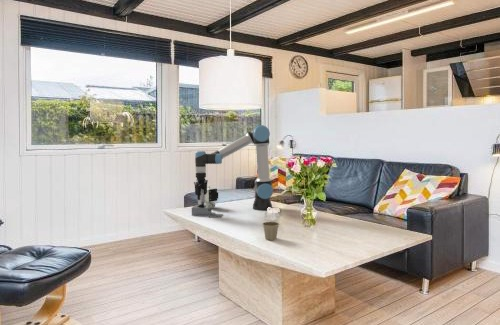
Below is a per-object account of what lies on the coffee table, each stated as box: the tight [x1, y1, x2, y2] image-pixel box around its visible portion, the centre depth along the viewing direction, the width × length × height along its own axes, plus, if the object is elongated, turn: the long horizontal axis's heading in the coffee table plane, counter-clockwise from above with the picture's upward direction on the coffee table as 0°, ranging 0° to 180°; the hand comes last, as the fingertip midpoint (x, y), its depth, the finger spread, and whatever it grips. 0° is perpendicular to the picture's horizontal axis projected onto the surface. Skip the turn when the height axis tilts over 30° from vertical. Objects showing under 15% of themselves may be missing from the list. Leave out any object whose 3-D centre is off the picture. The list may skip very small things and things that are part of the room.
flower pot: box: [262, 221, 280, 241], centre depth 203 cm, size 9×9×9 cm
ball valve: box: [204, 185, 219, 210], centre depth 289 cm, size 18×8×18 cm, turn 37°
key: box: [198, 186, 208, 207], centre depth 268 cm, size 4×10×17 cm, turn 59°
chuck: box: [191, 204, 212, 217], centre depth 269 cm, size 12×12×6 cm
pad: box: [208, 213, 224, 218], centre depth 262 cm, size 9×9×1 cm
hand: (201, 203), depth 268 cm, fingers closed on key, 3 cm apart
